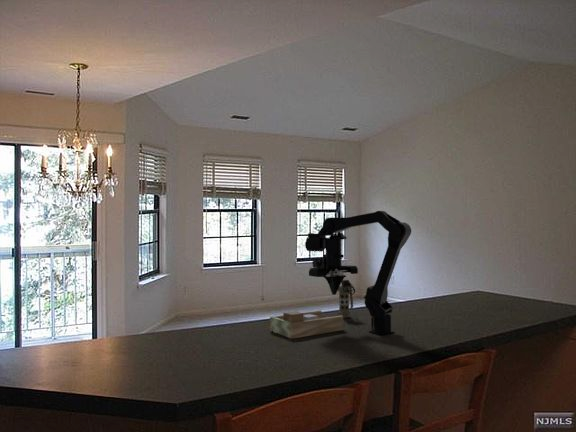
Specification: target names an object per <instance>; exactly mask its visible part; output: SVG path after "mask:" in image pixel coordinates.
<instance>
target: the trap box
mask: <svg viewBox="0 0 576 432" xmlns="http://www.w3.org/2000/svg"><path fill="white" fill-rule="evenodd" d="M302 313H303V315H307V314H311V315H316V316H318V319H314V320H307V321H300V322H293V323H292V322H289V321H285V320H283V314H282V315H275V316H269V325H270V326H269V331H270V332H272V331H273V332H272V333H274V334H277V333H278V335H281V336H282V337H283V336H284V337H287V338H289V339H296V338H304V337H309V336H314V335H316V336H317V335H321V334H327V333H333V332H339V331H344V318H343V316H342V315H341V316H338V315H336V316H328V317H322V310H321V309H319V310H313V311H304V312H302Z"/></svg>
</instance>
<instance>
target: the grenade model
mask: <svg viewBox="0 0 576 432" xmlns="http://www.w3.org/2000/svg"><path fill="white" fill-rule="evenodd" d="M337 292H339V293H338V296H339V299H338V300H339V301H338V303H339V311H338V312H337V316H341V315H342V316H343V319H349V318H350V317H351V315H352V313H351V311H350V310H352V309H353V308H354V300H353V295H354V294H355V293H356V289H355V287H354V285H353V284H352V283H351V282H350V281H349V279H345V278H344V279H343V281H342V282H341V285H340V286H339V289H338V291H337Z"/></svg>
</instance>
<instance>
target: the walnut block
mask: <svg viewBox="0 0 576 432" xmlns="http://www.w3.org/2000/svg"><path fill="white" fill-rule="evenodd" d="M282 313H283V314H282V315H283V320H285V321H289V322H292V323H293V322H300V321H304V315H303V312H300V311H297V310H292V311H285V312H282Z"/></svg>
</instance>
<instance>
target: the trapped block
mask: <svg viewBox="0 0 576 432" xmlns="http://www.w3.org/2000/svg"><path fill="white" fill-rule="evenodd" d="M314 319H318V316H316V315H311V314H307V315H304V321H307V320H314Z"/></svg>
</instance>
